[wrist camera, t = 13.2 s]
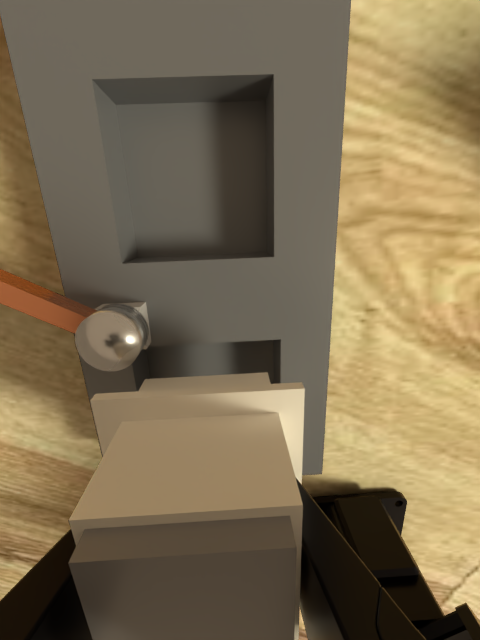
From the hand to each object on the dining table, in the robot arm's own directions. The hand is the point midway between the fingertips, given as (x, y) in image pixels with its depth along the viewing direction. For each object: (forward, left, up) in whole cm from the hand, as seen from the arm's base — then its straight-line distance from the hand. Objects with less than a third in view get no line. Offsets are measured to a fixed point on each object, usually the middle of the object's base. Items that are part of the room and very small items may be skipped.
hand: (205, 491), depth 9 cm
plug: (0, 0, -3) cm, 3 cm away
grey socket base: (+7, 0, -7) cm, 10 cm away
